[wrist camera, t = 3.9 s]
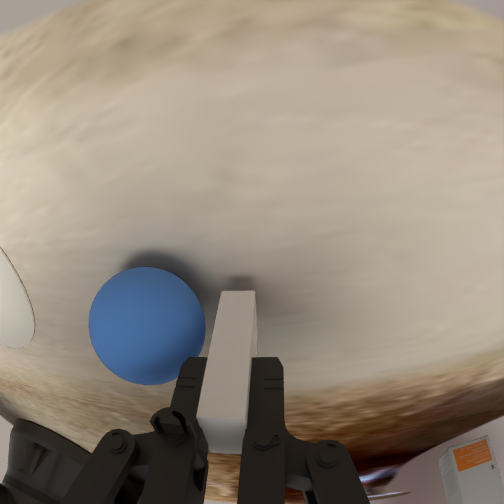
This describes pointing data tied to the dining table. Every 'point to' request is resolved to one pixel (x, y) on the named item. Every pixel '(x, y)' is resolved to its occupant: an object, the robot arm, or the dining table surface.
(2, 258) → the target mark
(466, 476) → the skincare box
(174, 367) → the ball
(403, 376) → the dining table surface
